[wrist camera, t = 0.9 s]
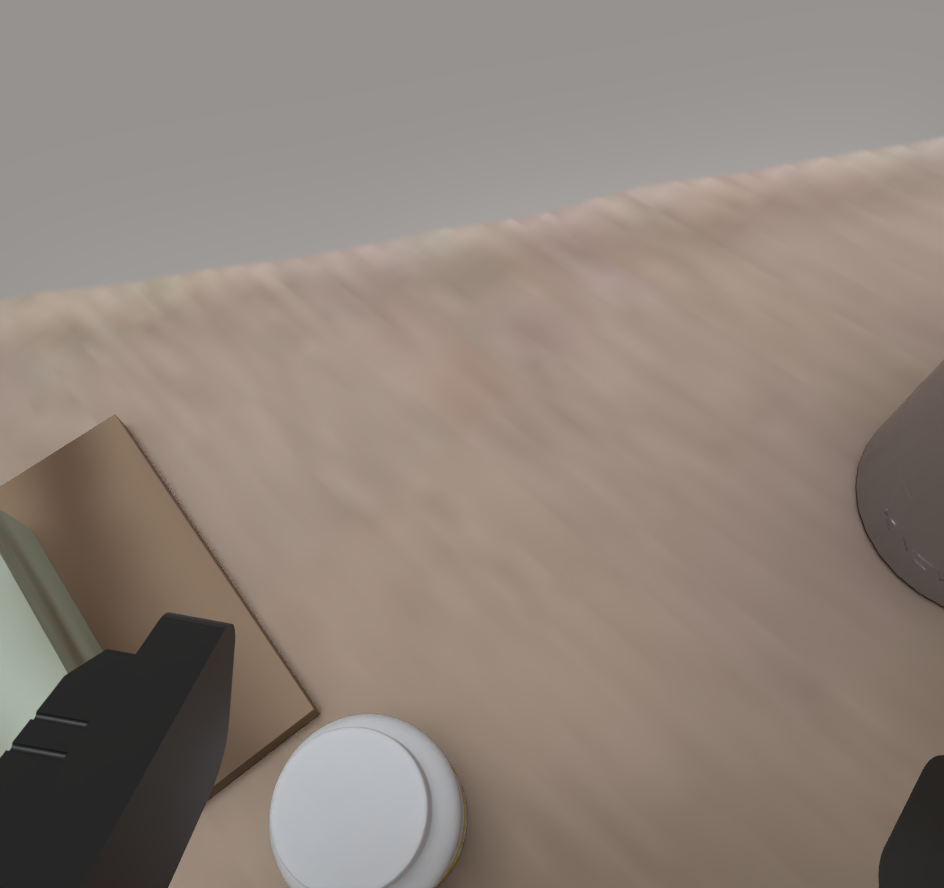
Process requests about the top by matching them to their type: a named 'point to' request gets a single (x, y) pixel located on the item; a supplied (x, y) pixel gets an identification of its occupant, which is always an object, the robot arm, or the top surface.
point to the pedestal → (121, 589)
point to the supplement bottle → (367, 808)
